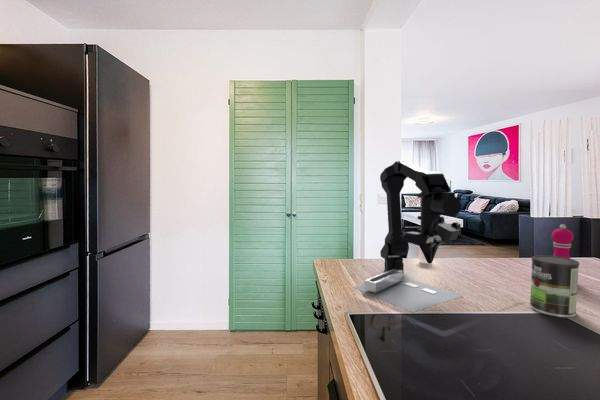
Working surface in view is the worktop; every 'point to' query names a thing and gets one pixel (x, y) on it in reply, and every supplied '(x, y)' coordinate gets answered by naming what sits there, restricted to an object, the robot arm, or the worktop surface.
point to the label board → (412, 294)
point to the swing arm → (383, 280)
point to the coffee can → (554, 285)
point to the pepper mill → (562, 241)
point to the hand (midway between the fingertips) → (429, 263)
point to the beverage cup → (421, 256)
